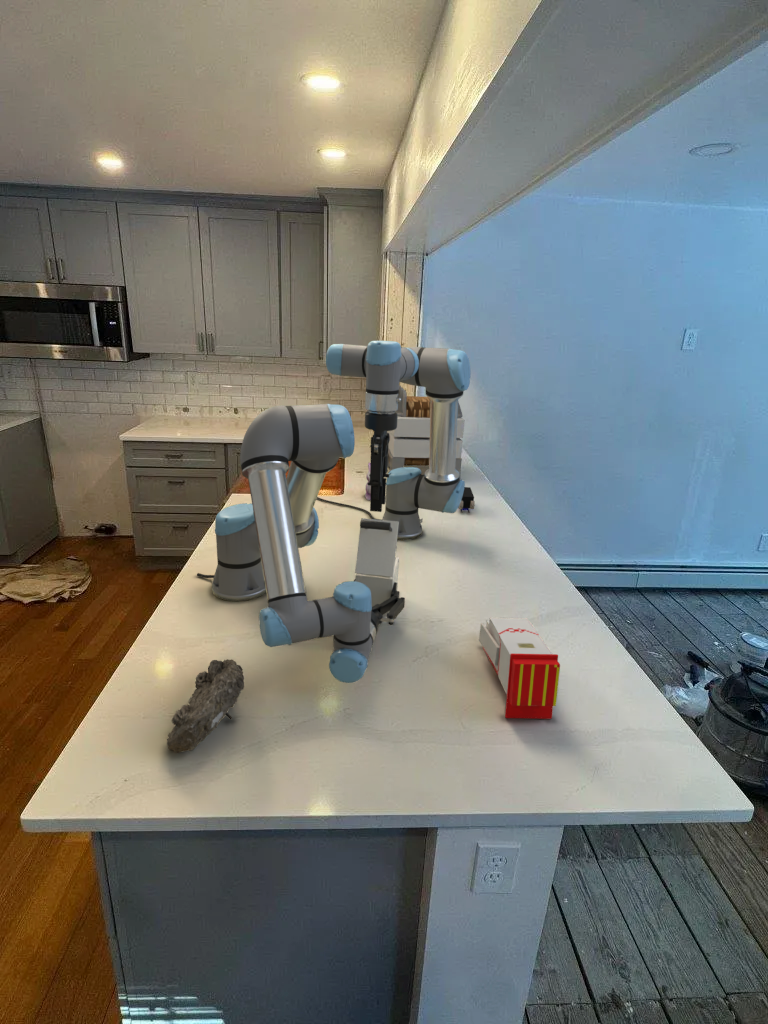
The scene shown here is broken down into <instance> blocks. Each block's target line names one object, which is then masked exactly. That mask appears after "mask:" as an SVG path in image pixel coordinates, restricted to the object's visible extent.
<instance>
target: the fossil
mask: <svg viewBox="0 0 768 1024" xmlns="http://www.w3.org/2000/svg"><path fill="white" fill-rule="evenodd" d="M243 670H244V669H243V667H242V665H240V664H237V662H236V661H235V660H234V659H232V658H231V659H227V658H226V659H224V660H223V661H222V660H217V659H212V660H211V661H210V663H209V665H208V666H207V671H201V672H199V673H198V674H197V675H196V676H195V680H194V684H195V685H194V687H195V689H194V690H193V693H192V694H191V697H190V698H189V700H188V704H184V705H182V706H181V707H180V709H177V710H176V711H175V713H174V715H173V716H172V718H171V723H172V724H173V727H172V730H171V731H170V732H168V734H167V738H166V741H167V742H166V745H167V749H168V750H169V751H173V752H174V753H176V754H178V753H182V752H188V751H189V752H192V751H193V750H195V748H196V747H197V746H199V744H200V743H201V742H203V741H204V740H205V739H206V738H207V737H208V736H209V735H210V734H211V733H212V732H214V730H215V729H217V727H218V726H219V724H220V722H221V721H222V720H223V719H224V718H225V716H226V717H227V719H229V720H233V717H232V715H230V714H229V710H230V709H231V708H234V706H235V704H236V703H237V702H238V699H239V697H240V695H241V693H242V691H243V690H245V689H244V688H245V675H244V671H243Z"/></svg>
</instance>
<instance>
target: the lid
mask: <svg viewBox="0 0 768 1024" xmlns="http://www.w3.org/2000/svg"><path fill="white" fill-rule="evenodd" d="M376 519H377V518H375V519H371V518H366V517H365V518H364V517H361V518H360V522H359V534H358V543H357V551H356V552H357V553H356V560H355V561H356V562H355V569H354V570H355V571H354V573H355V574H356V573H359V574H368V575H378V576H388V577H393V574H394V564H395V557H396V553H397V544H398V540H397V535H398V526H399V522H398V521H387V520H382V519H381V520H376Z"/></svg>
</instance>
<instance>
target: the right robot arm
mask: <svg viewBox="0 0 768 1024" xmlns="http://www.w3.org/2000/svg"><path fill="white" fill-rule="evenodd" d="M325 365H326V369H327V371H328V372H329V373H330V375H333V376H340V377H352V378H364V379H365V396H364V409H365V410H366V411H365V413H364V427H365V429H367V430H369V431H373V434H372V436H371V437H370V445H369V447H370V482H369V483H368V485H371V498H370V500H369V501H370V502H369V510H367V509H365V508H362V507H359V506H355V505H350V504H346V503H341V502H336V501H332V500H329V499H328V500H327V499H324V498H321V497H319V496H317V498H316V500H319V501H321V502H325V503H329V504H333V505H337V506H341V507H342V506H343V507H348V508H352V509H356V510H359V511H362V512H365V513H366V514H367V515H369V517H370V519H376V520H387V521H398V522H399V526H398V535H397V541H410V540H415V539H418V538H420V537H421V536H422V535H423V525H422V523H423V520H424V519H423V517H422V518H420V515H419V509H420V510H421V509H422V510H427V511H433V512H438V513H442V514H443V513H446V514H454V513H456V512H457V511H458V510H459V508H458V507H459V505H460V502H461V500H462V496H463V492H464V487H466V483H465V480H463V479H461V478H460V480H459V472H458V471H457V470H456V469H455V460H456V437H457V414H458V402H459V399H461V398H462V397H463V396H464V391H467V390H468V389H469V387H470V383H471V373H472V372H471V362H470V357H469V356H468V354H467V353H466V352H465V351H464V350H461V349H455V348H441V347H425V346H424V347H423V346H409V347H403V346H402V345H401V344H400V343H399V342H398V341H394V340H371V341H369V342H368V343H367V345H358V344H346V343H345V344H344V343H333V344H331V345H330V346H329V347H328V348H327V351H326V354H325ZM400 383H402V384H404V385H410V386H414V387H421V388H425V397H429V398H430V447H429V465H428V468H427V469H426V470H424V473H423V474H422V469H421V468H419V467H417V466H404V467H403V468H397V469H393V470H391V471H390V470H389V469H388V467H387V465H388V450H389V441H390V435H389V433H387V431H392V430H395V429H396V428H397V419H398V414H397V413H396V412H395V411H397V410H398V402H401V398H397V397H398V393H399V385H400ZM388 471H389V472H388ZM383 505H385V507H384V508H385V509H384V513H383V515H382V519H381V518H375V517H373V515H372V513H371V512H375V513H376V512H377V513H382V512H383Z"/></svg>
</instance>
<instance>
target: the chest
mask: <svg viewBox="0 0 768 1024" xmlns="http://www.w3.org/2000/svg"><path fill="white" fill-rule="evenodd" d="M399 567H400V556H395V564H394V574H393V577H388V576H378V575H368V574H359V573H355V575H354V580H355V581H356V582H360V583H363V584H365V585H366V586H367V587H368V588H369V589H370V591H371V601H372V607H373V606H375V605H376V604H381V603H382V602H384V601H386V600H387V599H389V598H391V591H392V588H393V585H394V582H395V583H397V588H398V584H399ZM388 612H389V611H388ZM386 614H387V613H385V614H384V615H382V616H385V615H386Z"/></svg>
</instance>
